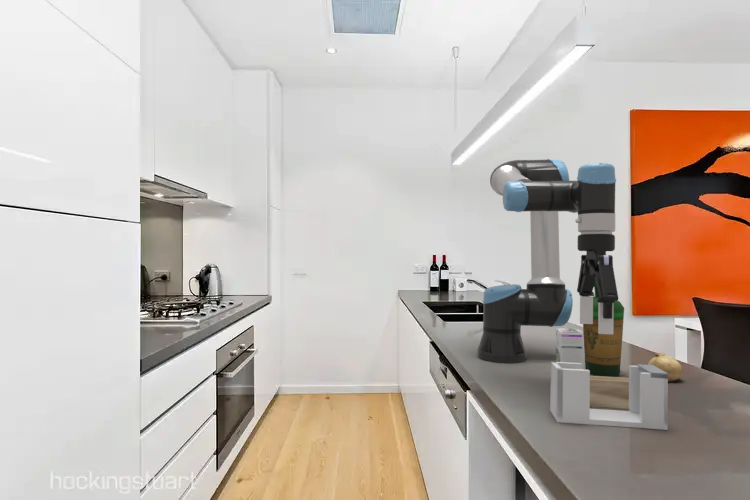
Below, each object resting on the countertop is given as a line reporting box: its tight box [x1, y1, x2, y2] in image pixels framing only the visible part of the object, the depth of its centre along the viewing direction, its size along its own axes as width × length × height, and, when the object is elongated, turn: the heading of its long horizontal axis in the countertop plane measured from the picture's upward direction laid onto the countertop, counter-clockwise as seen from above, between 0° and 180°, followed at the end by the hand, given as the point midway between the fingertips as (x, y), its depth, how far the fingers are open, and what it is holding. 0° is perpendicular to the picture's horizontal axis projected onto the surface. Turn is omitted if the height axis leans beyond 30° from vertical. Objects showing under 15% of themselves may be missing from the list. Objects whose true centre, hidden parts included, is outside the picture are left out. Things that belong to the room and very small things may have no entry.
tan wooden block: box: [590, 375, 629, 410], centre depth 101 cm, size 4×14×6 cm, turn 81°
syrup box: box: [555, 327, 585, 370], centre depth 113 cm, size 6×6×14 cm
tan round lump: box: [647, 352, 683, 383], centre depth 121 cm, size 8×8×7 cm
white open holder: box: [549, 361, 669, 431], centre depth 91 cm, size 7×20×11 cm, turn 80°
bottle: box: [582, 281, 625, 377], centre depth 125 cm, size 11×11×28 cm
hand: (595, 328), depth 100 cm, fingers open, 13 cm apart
